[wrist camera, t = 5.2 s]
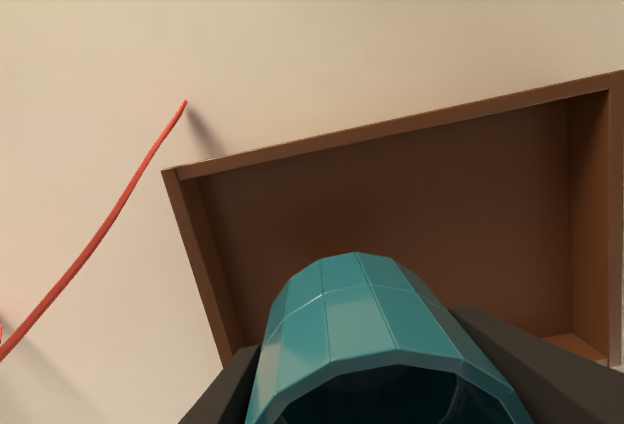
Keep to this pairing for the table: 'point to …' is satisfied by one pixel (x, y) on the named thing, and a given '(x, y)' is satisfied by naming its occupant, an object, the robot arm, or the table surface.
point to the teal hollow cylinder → (372, 353)
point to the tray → (429, 213)
